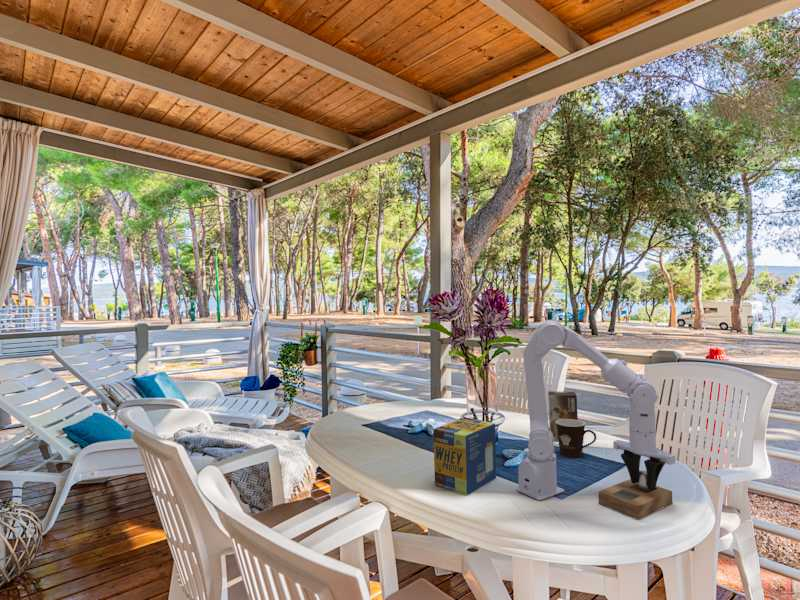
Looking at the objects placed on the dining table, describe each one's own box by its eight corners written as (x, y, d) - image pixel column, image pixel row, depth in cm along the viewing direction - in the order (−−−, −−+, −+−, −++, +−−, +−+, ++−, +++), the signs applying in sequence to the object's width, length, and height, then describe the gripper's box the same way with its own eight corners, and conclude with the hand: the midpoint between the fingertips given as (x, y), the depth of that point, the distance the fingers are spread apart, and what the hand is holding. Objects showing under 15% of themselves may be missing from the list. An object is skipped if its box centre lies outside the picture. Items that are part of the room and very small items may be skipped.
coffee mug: (550, 452, 153) (550, 421, 153) (572, 448, 156) (571, 417, 156) (576, 464, 142) (575, 430, 142) (599, 459, 145) (598, 426, 145)
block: (638, 519, 107) (637, 506, 107) (598, 503, 115) (598, 491, 115) (672, 503, 114) (672, 491, 114) (632, 489, 123) (632, 478, 123)
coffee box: (576, 437, 168) (575, 391, 167) (578, 442, 161) (577, 395, 161) (549, 435, 170) (548, 390, 170) (550, 441, 164) (549, 394, 163)
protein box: (434, 486, 129) (432, 428, 128) (466, 469, 140) (464, 416, 140) (466, 496, 122) (465, 435, 122) (497, 477, 133) (496, 422, 133)
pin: (647, 500, 115) (648, 476, 115) (634, 496, 117) (635, 471, 117) (653, 498, 116) (654, 473, 116) (641, 493, 119) (642, 469, 119)
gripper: (681, 433, 112) (682, 491, 113) (624, 420, 125) (625, 472, 125) (665, 439, 109) (666, 498, 109) (607, 425, 121) (608, 478, 121)
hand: (643, 485), depth 117 cm, fingers open, 4 cm apart
